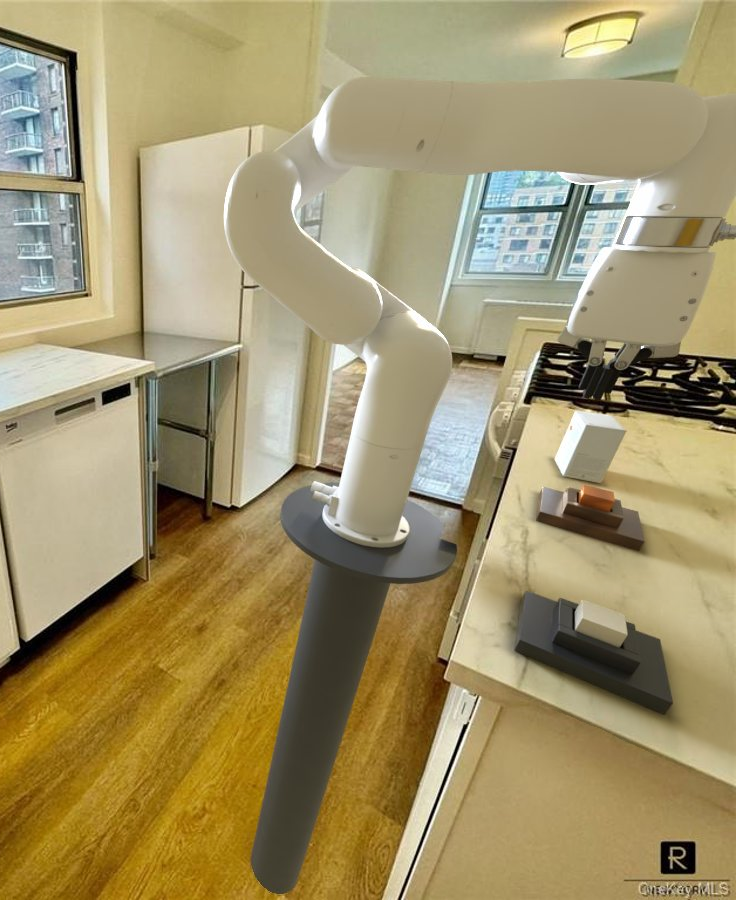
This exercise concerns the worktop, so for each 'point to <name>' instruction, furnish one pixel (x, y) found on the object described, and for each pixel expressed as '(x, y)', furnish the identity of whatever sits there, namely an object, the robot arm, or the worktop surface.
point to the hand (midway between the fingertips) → (591, 396)
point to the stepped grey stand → (593, 652)
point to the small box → (589, 446)
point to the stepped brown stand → (590, 518)
